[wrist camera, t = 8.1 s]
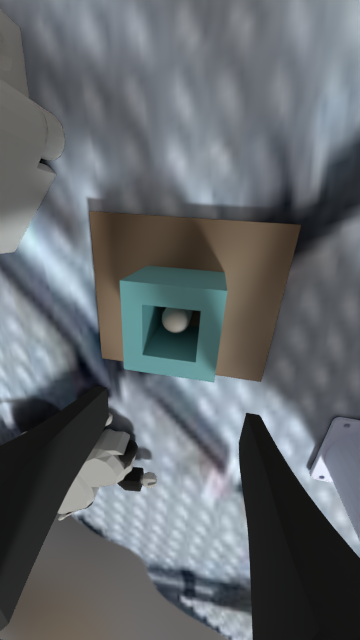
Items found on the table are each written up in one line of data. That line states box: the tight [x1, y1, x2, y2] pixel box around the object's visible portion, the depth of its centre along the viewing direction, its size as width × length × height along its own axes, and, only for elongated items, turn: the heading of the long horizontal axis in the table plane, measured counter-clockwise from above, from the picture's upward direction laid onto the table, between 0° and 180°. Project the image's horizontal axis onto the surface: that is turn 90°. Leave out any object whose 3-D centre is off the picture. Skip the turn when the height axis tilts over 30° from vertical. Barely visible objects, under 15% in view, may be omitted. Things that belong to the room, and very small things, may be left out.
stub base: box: [89, 211, 301, 382], centre depth 16 cm, size 14×12×5 cm
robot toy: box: [21, 413, 157, 520], centre depth 25 cm, size 12×4×15 cm
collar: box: [120, 266, 227, 382], centre depth 15 cm, size 6×6×5 cm
